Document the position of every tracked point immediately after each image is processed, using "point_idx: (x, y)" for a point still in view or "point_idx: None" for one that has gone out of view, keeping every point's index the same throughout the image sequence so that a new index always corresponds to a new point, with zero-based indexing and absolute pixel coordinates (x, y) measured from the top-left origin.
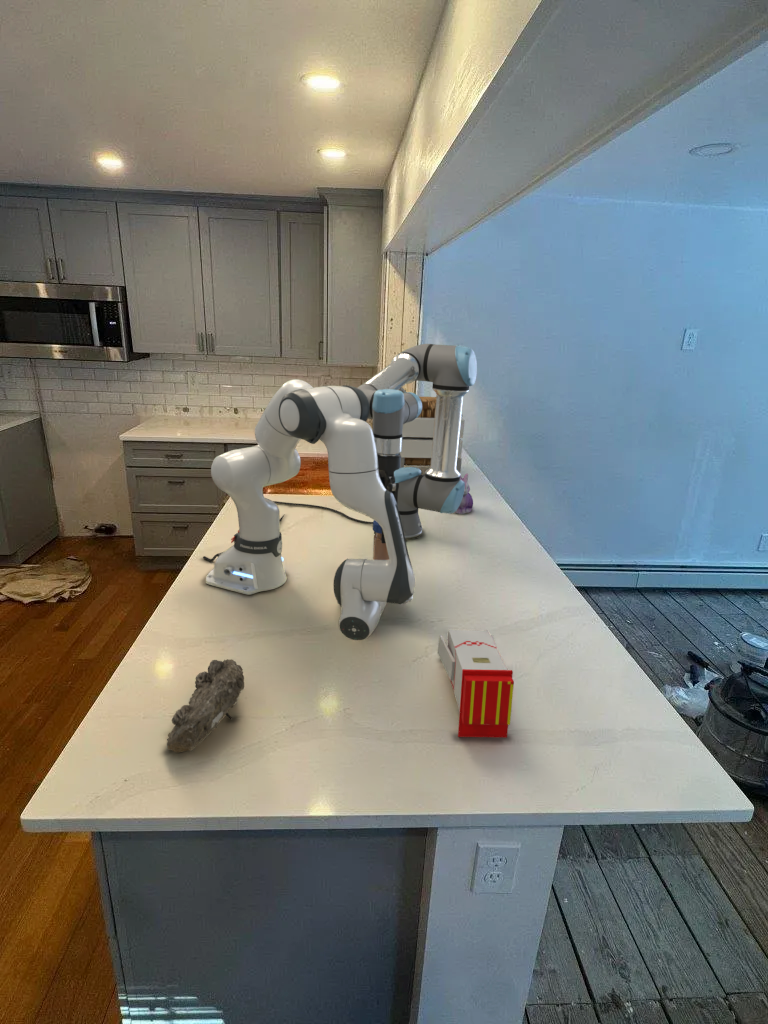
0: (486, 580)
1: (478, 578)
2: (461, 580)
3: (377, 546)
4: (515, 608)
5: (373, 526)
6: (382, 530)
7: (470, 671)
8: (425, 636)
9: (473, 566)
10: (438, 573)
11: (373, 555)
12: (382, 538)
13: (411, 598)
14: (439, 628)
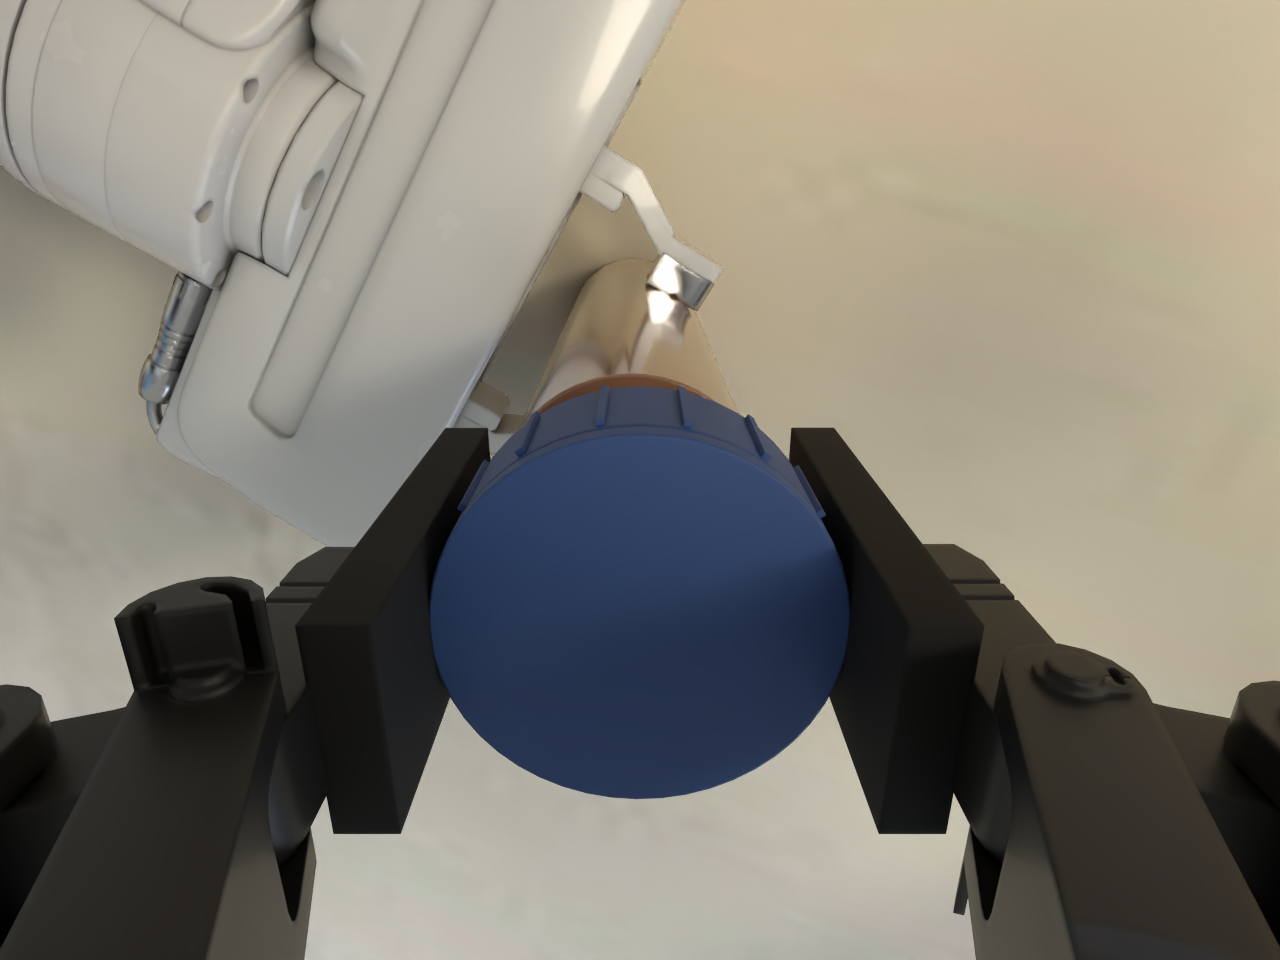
0: (661, 940)
1: (694, 918)
2: (699, 839)
3: (558, 372)
4: (349, 935)
5: (641, 408)
6: (395, 507)
7: None
8: (94, 426)
9: (837, 949)
10: (823, 765)
11: (634, 317)
12: (424, 455)
13: (170, 453)
14: (181, 533)
